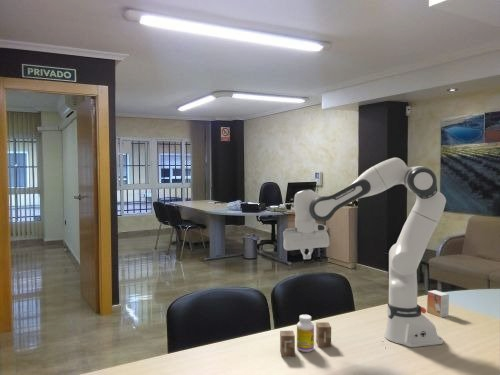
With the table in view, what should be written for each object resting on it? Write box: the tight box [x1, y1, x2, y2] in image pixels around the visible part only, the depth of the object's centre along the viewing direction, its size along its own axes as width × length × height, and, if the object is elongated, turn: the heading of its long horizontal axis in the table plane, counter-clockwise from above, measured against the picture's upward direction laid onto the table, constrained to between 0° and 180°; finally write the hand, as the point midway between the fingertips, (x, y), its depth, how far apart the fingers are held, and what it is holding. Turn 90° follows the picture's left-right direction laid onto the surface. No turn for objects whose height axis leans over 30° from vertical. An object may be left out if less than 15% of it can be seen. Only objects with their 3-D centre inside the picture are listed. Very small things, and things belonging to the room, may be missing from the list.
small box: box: [426, 289, 450, 318], centre depth 196 cm, size 8×6×10 cm
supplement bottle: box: [296, 314, 315, 353], centre depth 159 cm, size 7×7×13 cm
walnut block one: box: [315, 321, 332, 348], centre depth 163 cm, size 5×5×8 cm
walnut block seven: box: [279, 330, 296, 358], centre depth 155 cm, size 5×5×8 cm
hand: (307, 258), depth 176 cm, fingers closed
